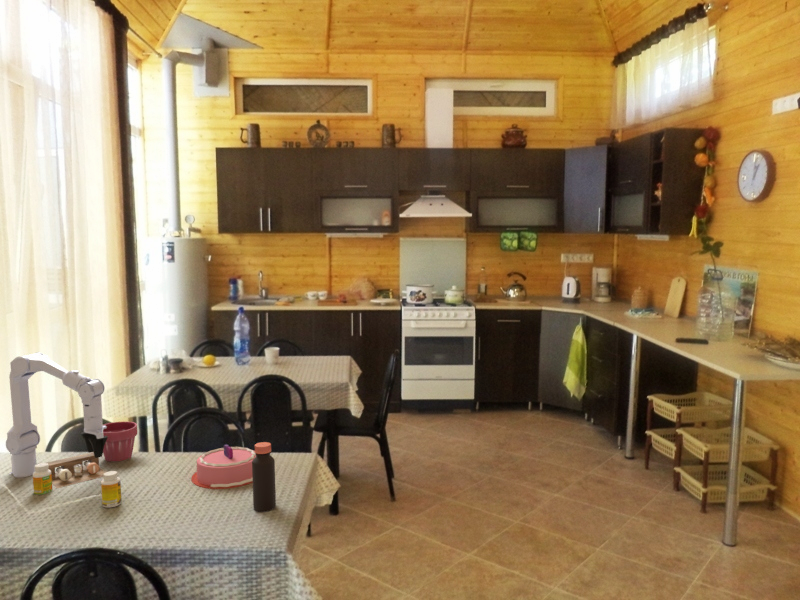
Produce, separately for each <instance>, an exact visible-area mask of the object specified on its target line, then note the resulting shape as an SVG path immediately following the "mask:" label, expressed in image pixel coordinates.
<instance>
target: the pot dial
mask: <svg viewBox="0 0 800 600" xmlns="http://www.w3.org/2000/svg"><path fill="white" fill-rule="evenodd" d="M82 476H83V473H82V465H81V464H78V465H74V478H81V477H82Z"/></svg>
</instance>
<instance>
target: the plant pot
mask: <svg viewBox="0 0 800 600" xmlns="http://www.w3.org/2000/svg"><path fill="white" fill-rule="evenodd" d="M103 426H107V428H106V429H104V430H103V436H107V437H108V438H107V440H106V442H105V445H104V449H103V457H104V461H106V462H120V461H125V460H127V459H132V456H133V452H134V451H133V450H134V446H135V439H136V436H137V435H138V424H137V423H136V422H134V421H113V422H108V423H105V424H103Z"/></svg>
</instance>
